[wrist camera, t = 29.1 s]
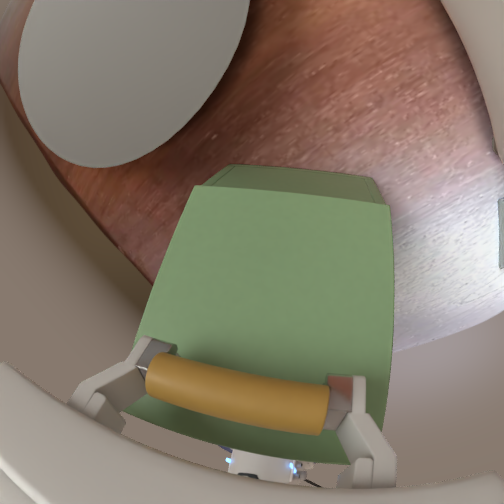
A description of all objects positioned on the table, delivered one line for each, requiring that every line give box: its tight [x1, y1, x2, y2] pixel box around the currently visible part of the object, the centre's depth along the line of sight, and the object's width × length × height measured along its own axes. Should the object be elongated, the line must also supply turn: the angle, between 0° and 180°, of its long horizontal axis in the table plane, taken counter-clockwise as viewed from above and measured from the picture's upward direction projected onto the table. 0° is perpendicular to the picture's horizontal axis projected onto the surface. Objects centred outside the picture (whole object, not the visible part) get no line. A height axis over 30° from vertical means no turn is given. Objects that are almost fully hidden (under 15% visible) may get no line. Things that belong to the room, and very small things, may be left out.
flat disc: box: [18, 0, 250, 168], centre depth 18 cm, size 28×28×4 cm
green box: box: [201, 164, 386, 205], centre depth 24 cm, size 14×13×7 cm
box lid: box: [123, 185, 394, 465], centre depth 12 cm, size 14×13×5 cm
